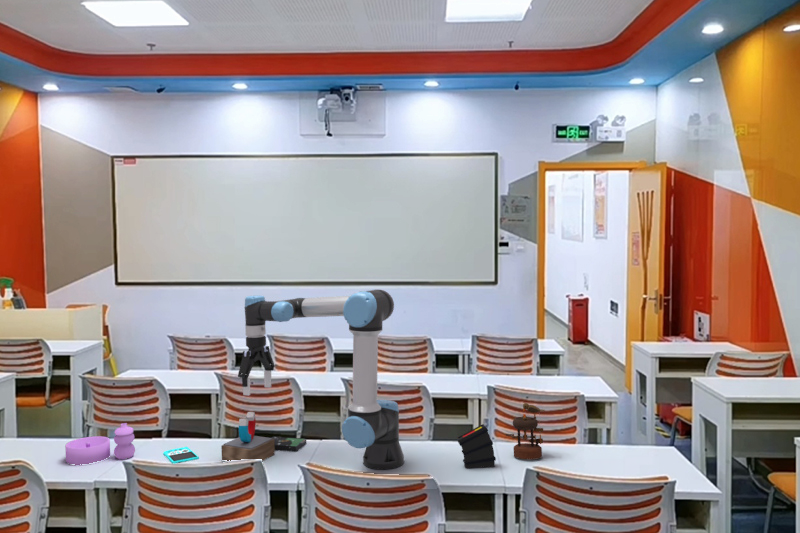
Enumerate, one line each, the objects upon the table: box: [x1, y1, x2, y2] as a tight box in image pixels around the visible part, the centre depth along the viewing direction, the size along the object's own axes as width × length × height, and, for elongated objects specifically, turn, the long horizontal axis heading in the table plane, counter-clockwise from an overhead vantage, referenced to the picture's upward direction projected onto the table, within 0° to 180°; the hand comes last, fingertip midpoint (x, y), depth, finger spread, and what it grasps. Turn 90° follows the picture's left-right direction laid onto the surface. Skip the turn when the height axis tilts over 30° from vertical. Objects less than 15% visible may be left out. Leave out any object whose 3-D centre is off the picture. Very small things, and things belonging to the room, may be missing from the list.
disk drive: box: [271, 436, 307, 453], centre depth 254 cm, size 10×3×15 cm
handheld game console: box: [163, 446, 200, 464], centre depth 244 cm, size 10×16×1 cm, turn 35°
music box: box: [505, 402, 546, 460], centre depth 238 cm, size 15×11×20 cm
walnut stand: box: [221, 435, 276, 461], centre depth 241 cm, size 14×14×6 cm
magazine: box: [457, 423, 497, 469], centre depth 228 cm, size 4×13×15 cm, turn 96°
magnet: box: [238, 411, 257, 442], centre depth 240 cm, size 12×3×10 cm, turn 175°
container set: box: [65, 422, 136, 466], centre depth 243 cm, size 25×15×13 cm, turn 94°
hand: (257, 391), depth 242 cm, fingers open, 13 cm apart
